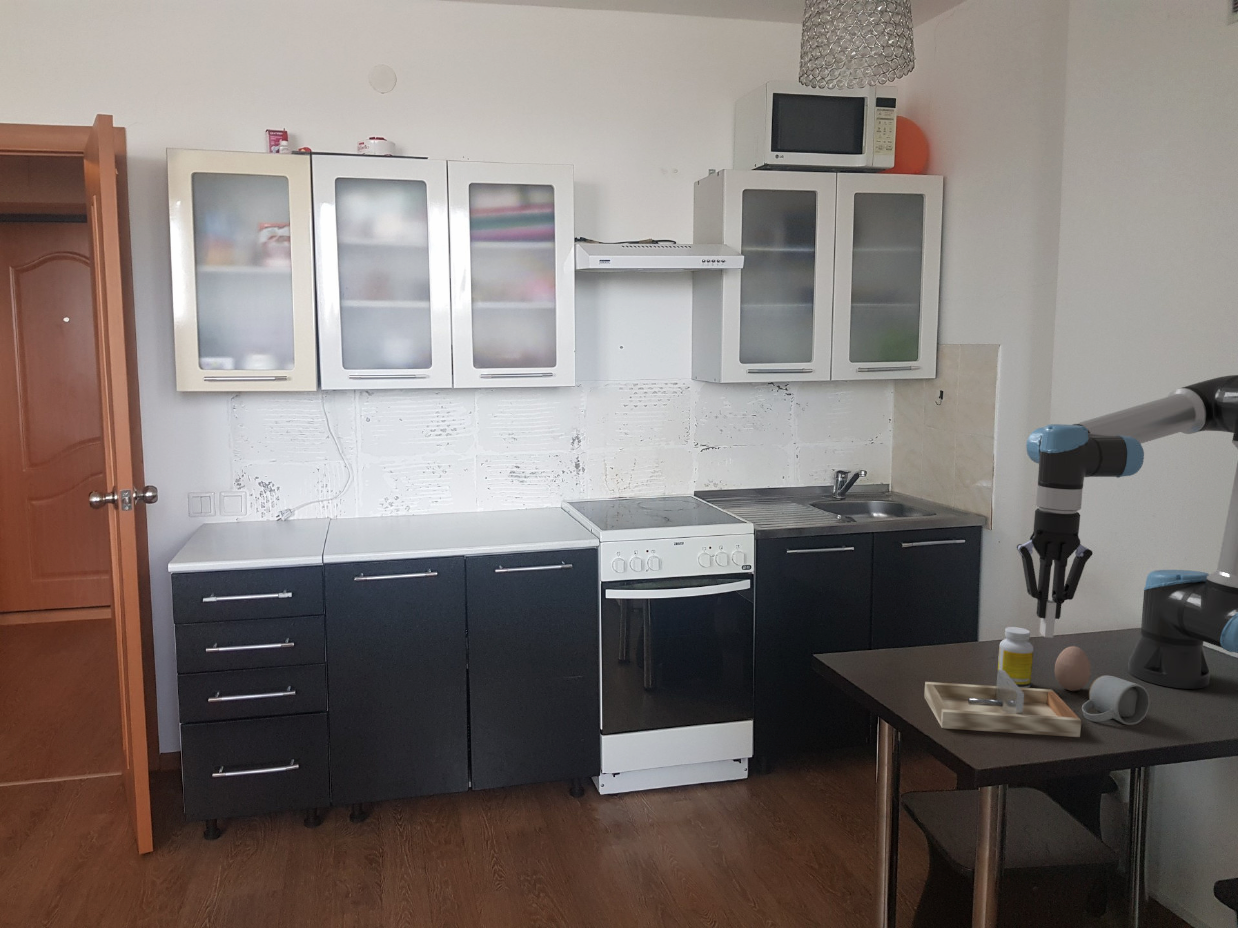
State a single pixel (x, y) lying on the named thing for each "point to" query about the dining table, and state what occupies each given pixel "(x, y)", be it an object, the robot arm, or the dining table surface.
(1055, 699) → the wooden tray
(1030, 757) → the dining table surface
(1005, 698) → the pusher
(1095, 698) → the ceramic mug
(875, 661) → the dining table surface
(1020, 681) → the pill bottle
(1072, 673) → the egg
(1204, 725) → the dining table surface
